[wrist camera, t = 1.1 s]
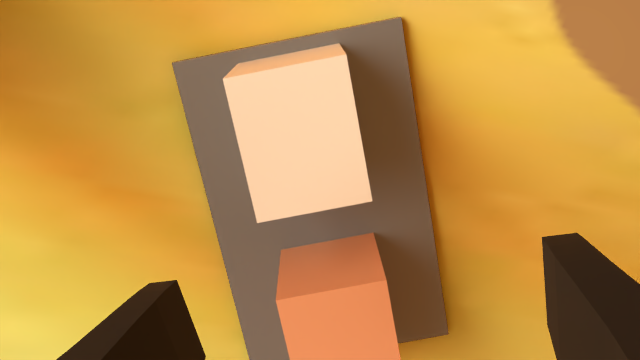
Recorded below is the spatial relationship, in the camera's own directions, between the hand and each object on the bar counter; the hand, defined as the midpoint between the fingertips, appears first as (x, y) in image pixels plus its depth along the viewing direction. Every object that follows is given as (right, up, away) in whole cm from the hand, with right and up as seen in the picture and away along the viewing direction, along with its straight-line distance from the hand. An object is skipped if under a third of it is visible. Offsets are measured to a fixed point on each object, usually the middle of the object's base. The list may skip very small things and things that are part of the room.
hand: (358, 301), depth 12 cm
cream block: (-1, +5, +12) cm, 13 cm away
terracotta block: (0, -3, +15) cm, 15 cm away
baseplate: (-1, +1, +14) cm, 14 cm away
